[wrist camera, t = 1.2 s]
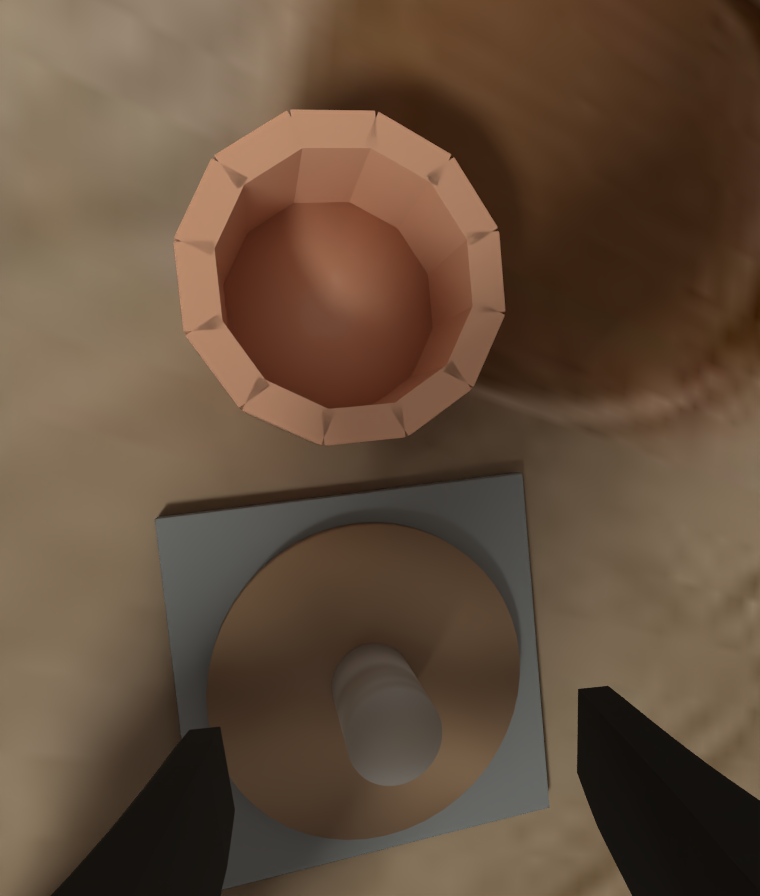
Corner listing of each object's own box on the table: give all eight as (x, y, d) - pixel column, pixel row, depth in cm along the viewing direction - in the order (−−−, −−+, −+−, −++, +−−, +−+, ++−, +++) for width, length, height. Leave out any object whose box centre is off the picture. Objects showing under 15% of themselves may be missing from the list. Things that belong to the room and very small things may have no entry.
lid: (522, 787, 22) (583, 871, 18) (227, 859, 20) (218, 974, 16) (499, 503, 21) (556, 522, 17) (190, 544, 19) (171, 578, 15)
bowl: (462, 425, 21) (514, 425, 17) (212, 451, 20) (198, 458, 15) (440, 178, 21) (489, 111, 16) (181, 181, 19) (157, 107, 15)
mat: (542, 799, 23) (549, 807, 22) (201, 883, 20) (200, 895, 20) (516, 472, 22) (522, 473, 21) (157, 516, 19) (154, 519, 19)
